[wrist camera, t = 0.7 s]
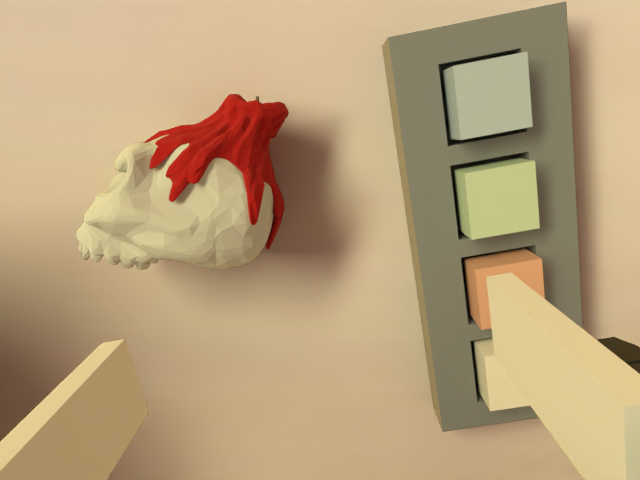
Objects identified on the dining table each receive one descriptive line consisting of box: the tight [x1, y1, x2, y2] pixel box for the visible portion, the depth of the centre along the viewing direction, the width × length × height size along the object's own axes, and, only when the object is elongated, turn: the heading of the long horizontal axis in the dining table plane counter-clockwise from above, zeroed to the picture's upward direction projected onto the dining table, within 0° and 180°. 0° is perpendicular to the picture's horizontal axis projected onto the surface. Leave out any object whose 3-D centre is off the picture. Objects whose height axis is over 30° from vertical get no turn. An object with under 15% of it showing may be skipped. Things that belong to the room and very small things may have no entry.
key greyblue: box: [442, 52, 533, 140], centre depth 29 cm, size 4×4×3 cm
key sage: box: [454, 158, 540, 240], centre depth 30 cm, size 4×4×3 cm
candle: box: [76, 94, 289, 270], centre depth 30 cm, size 9×11×15 cm
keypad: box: [382, 2, 583, 432], centre depth 33 cm, size 11×29×3 cm, turn 11°
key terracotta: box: [464, 248, 545, 330], centre depth 32 cm, size 4×4×3 cm
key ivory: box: [473, 337, 530, 411], centre depth 33 cm, size 4×4×3 cm
